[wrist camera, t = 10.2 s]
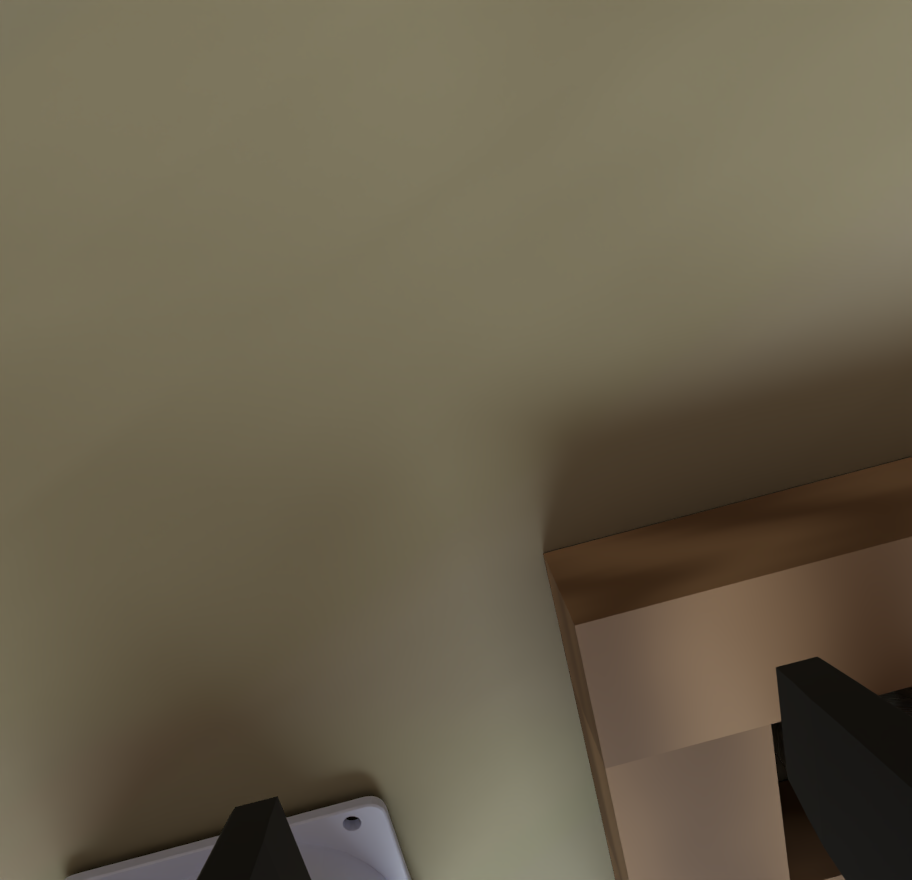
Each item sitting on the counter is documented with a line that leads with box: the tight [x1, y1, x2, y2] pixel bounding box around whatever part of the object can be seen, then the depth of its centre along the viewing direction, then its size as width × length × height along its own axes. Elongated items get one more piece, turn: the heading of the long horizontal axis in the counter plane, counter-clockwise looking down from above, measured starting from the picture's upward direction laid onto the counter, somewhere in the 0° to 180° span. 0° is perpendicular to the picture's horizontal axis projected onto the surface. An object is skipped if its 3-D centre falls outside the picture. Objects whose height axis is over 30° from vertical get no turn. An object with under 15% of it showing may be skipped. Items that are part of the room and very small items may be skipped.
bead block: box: [543, 457, 912, 880], centre depth 24 cm, size 14×14×4 cm
